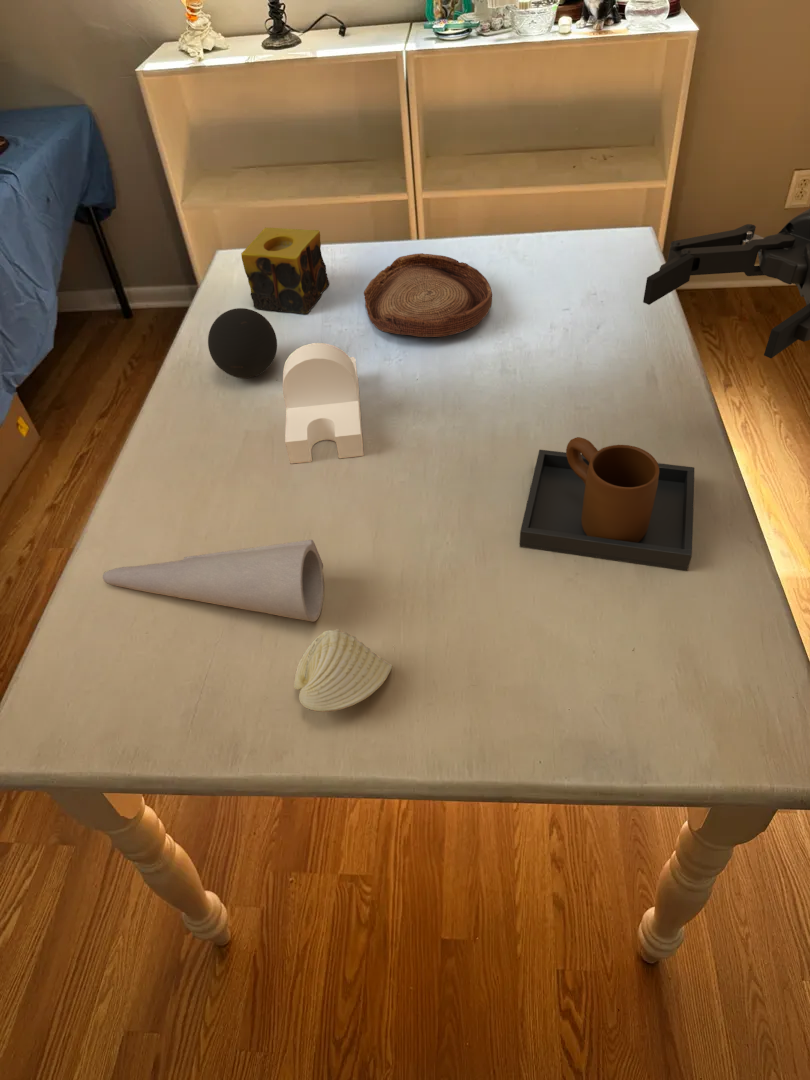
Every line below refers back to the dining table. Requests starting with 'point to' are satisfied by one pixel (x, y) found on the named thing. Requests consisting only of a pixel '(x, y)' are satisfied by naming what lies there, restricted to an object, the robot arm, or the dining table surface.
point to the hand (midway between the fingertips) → (706, 316)
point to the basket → (427, 296)
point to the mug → (615, 489)
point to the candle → (285, 269)
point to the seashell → (338, 672)
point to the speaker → (242, 343)
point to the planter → (239, 579)
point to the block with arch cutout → (321, 402)
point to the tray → (560, 530)
